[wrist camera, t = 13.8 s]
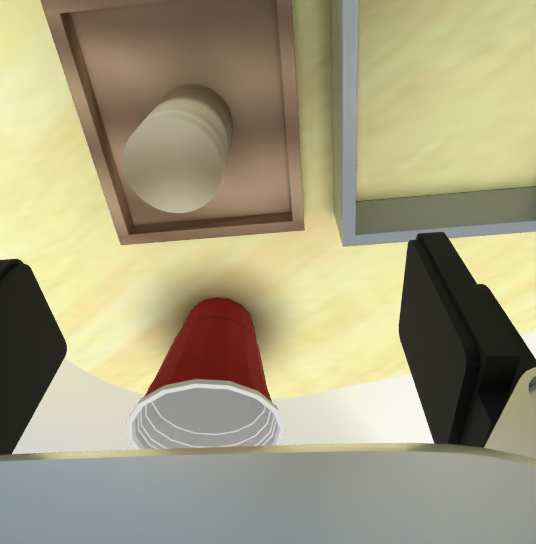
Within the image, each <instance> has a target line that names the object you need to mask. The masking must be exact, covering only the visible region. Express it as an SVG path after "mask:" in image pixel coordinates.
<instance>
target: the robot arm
mask: <svg viewBox="0 0 536 544" xmlns="http://www.w3.org/2000/svg"><path fill="white" fill-rule="evenodd" d="M399 336H400V340H401V343H402V346H403V349H404V352H405V355H406V359H407V362H408V365H409V368H410V371H411V374H412V377H413V380H414V383H415V386H416V389H417V392H418V395H419V398H420V401H421V404H422V407H423V410H424V413H425V416H426V419H427V422H428V425H429V428H430V431H431V435H432V438H433V441H434V444H427V443H426V444H424V443H371V444H370V443H367V444H365V443H364V444H308V445H273V446H238V447H204V448H173V449H143V450H116V451H115V450H114V451H86V452H58V453H33V454H12V452H13V450H14V449H15V447H16V445H17V443H18V441H19V440H20V438H21V436H22V434H23V432H24V430H25V429H26V427H27V425H28V423H29V421H30V419H31V418H32V416H33V414H34V412H35V410H36V409H37V407H38V405H39V403H40V401H41V399H42V398H43V396H44V394H45V392H46V390H47V388H48V387H49V385H50V383H51V381H52V379H53V378H54V376H55V374H56V372H57V370H58V368H59V367H60V365H61V363H62V361H63V359H64V358H65V355H66V352H67V345H66V342H65V339H64V337H63V335H62V333H61V331H60V329H59V327H58V325H57V322H56V320H55V318H54V316H53V314H52V312H51V310H50V308H49V306H48V303H47V301H46V299H45V297H44V295H43V293H42V291H41V289H40V287H39V284H38V282H37V280H36V278H35V276H34V274H33V272H32V270H31V268H30V267H29V266H28V265H26V264H24V263H23V262H22V261H21V260H19V259H8V260H0V544H536V359H535V357H534V356H533V354H532V353H531V351H530V350H529V348H528V347H527V345H526V344H525V342H524V341H523V339H522V338H521V336H520V335H519V333H518V332H517V330H516V329H515V327H514V326H513V324H512V322H511V321H510V319H509V318H508V316H507V315H506V313H505V312H504V310H503V309H502V307H501V306H500V304H499V303H498V301H497V300H496V298H495V297H494V295H493V294H492V292H491V291H490V289H489V288H488V287H487V286H486V285H483V284H477V283H476V282H475V280H474V278H473V277H472V275H471V274H470V272H469V270H468V269H467V267H466V266H465V264H464V263H463V261H462V259H461V258H460V256H459V255H458V253H457V251H456V250H455V248H454V247H453V245H452V243H451V242H450V240H449V239H448V237H447V236H446V234H445V233H444V232H431V233H418V234H417V237H416V240H409V242H408V248H407V257H406V266H405V275H404V284H403V293H402V302H401V311H400V320H399Z"/></svg>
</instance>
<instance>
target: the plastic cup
mask: <svg viewBox="0 0 536 544" xmlns="http://www.w3.org/2000/svg"><path fill="white" fill-rule="evenodd" d="M126 424H127V440H128V441H129V442H130V444H131V445H132V446H133V448H134V449H135V450H143V449H173V448H204V447H238V446H273V445H281V442H282V439H283V436H284V432H285V427H284V424H283V421H282V418H281V416H280V413H279V411H278V408H277V406H276V405H274V404H273V403H272V401H271V398H270V395H269V392H268V390H267V385H266V380H265V376H264V371H263V366H262V361H261V356H260V352H259V347H258V344H257V341H256V336H255V331H254V326H253V323H252V320H251V317H250V315H249V313H248V312H247V311H246V310H245V309H244V308H243V307H242V306H241V305H240V304H238V303H236V302H234V301H232V300H229V299H221V298H215V299H210V300H205V301H203V302H202V303H200V304H198V305H197V306H195V308H194V309H193V310H192V311H191V313H190V314H189V316H188V317H187V319H186V321H185V323H184V325H183V327H182V329H181V330H180V332H179V333H178V335H177V336H176V338H175V340H174V342H173V344H172V346H171V348H170V350H169V352H168V354H167V356H166V358H165V360H164V362H163V364H162V365H161V367H160V369H159V371H158V373H157V375H156V377H155V379H154V381H153V382H152V384H151V385H150V387H149V389H148V391H147V393H146V395H145V396H144V397H143V398H141V400H140V402H139V403H138V404H137V406H136V407H135V409H134V410H133V412H132V413H131V415H130V416H129V418H128V420H127V421H126Z"/></svg>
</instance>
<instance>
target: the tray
mask: <svg viewBox="0 0 536 544" xmlns="http://www.w3.org/2000/svg"><path fill="white" fill-rule="evenodd" d="M41 3H42V6H43V9H44V12H45V16H46V19H47V22H48V25H49V28H50V31H51V34H52V37H53V40H54V43H55V46H56V49H57V52H58V55H59V58H60V61H61V64H62V67H63V70H64V73H65V76H66V79H67V82H68V86H69V89H70V92H71V95H72V98H73V101H74V104H75V107H76V110H77V113H78V116H79V119H80V122H81V125H82V128H83V131H84V134H85V137H86V140H87V143H88V146H89V149H90V153H91V156H92V159H93V162H94V165H95V168H96V171H97V174H98V177H99V180H100V183H101V186H102V189H103V192H104V195H105V198H106V201H107V204H108V207H109V210H110V213H111V216H112V219H113V223H114V226H115V229H116V232H117V235H118V238H119V241H120V244H121V245H129V244H141V243H153V242H166V241H178V240H190V239H203V238H215V237H227V236H239V235H252V234H264V233H276V232H288V231H301V230H305V229H304V211H303V194H302V176H301V159H300V141H299V124H298V106H297V89H296V71H295V54H294V37H293V19H292V2H291V0H41ZM185 84H199V85H203V86H206V87H208V88H210V89H212V90H213V91H215V92H216V93H217V94H219V95H220V96H221V97H222V98H223V100H224V101H225V102H226V104H227V105H228V107H229V109H230V112H231V115H232V119H233V132H232V137H231V141H230V145H229V149H228V153H227V157H226V161H225V165H224V170H223V174H222V178H221V182H220V185H219V188H218V190H217V192H216V194H215V195H214V197H213V198H212V199H211V200H210V201H209V202H208V203H207V204H206V205H204V206H203V207H201V208H199V209H197V210H194V211H191V212H186V213H170V212H165V211H162V210H159V209H157V208H155V207H152V206H151V205H149V204H147V203H146V202H145V201H143V200H142V199H141V198H140V197H139V196H138V195H137V194H136V193H135V192H134V190H133V189H132V187H131V186H130V184H129V182H128V180H127V178H126V175H125V172H124V168H123V153H124V149H125V146H126V143H127V141H128V139H129V138H130V136H131V135H132V134H133V132H134V131H135V130H136V129H137V128H138V127H139V125H140V124H141V123H142V122H143V121H144V120H145V119H146V117H147V116H148V115H149V114H150V113H151V112H152V110H153V109H154V108H155V107H156V106H157V105H158V103H159V102H160V101H161V100H162V99H163V98H164V96H165V95H166V94H167V93H168V92H169V91H171V90H172V89H174V88H176V87H178V86H181V85H185Z"/></svg>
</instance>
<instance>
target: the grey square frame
mask: <svg viewBox="0 0 536 544" xmlns="http://www.w3.org/2000/svg"><path fill="white" fill-rule="evenodd" d="M331 21H332V91H333V161H334V214H335V218H336V222H337V226H338V229H339V233H340V237H341V241H342V245H343V247H345V246H357V245H370V244H383V243H395V242H408V241H409V240H416V237H417V234H418V233H431V232H444V233H445V234H446V236H447V237H448V238H459V237H472V236H484V235H497V234H510V233H522V232H535V231H536V187H524V188H512V189H500V190H488V191H477V192H465V193H453V194H441V195H429V196H418V197H406V198H394V199H382V200H370V201H359V202H356V157H357V93H358V29H359V0H331Z"/></svg>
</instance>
